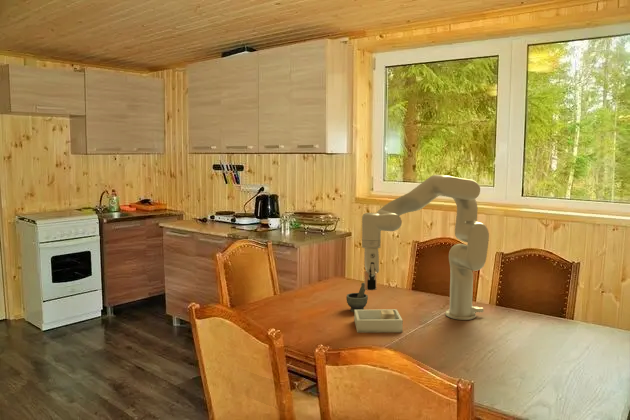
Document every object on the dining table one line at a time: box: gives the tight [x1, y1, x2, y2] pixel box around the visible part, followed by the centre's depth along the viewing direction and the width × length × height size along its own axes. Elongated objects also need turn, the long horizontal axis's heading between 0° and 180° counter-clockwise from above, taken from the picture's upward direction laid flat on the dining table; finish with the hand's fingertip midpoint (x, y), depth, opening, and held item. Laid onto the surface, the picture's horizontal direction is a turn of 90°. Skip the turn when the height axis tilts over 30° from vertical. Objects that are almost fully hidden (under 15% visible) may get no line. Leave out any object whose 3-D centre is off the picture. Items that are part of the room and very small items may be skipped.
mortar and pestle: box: [345, 282, 369, 313], centre depth 234 cm, size 11×9×12 cm
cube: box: [381, 310, 395, 319], centre depth 213 cm, size 5×5×5 cm
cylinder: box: [363, 270, 378, 292], centre depth 210 cm, size 5×5×7 cm
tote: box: [353, 308, 404, 334], centre depth 213 cm, size 18×14×5 cm
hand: (370, 287), depth 211 cm, fingers closed on cylinder, 5 cm apart
